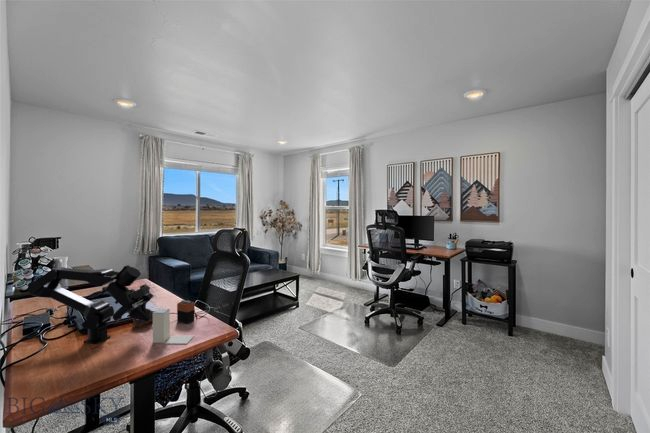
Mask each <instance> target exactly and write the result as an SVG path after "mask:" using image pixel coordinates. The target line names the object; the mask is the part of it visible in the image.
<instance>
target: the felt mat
mask: <svg viewBox="0 0 650 433" xmlns="http://www.w3.org/2000/svg"><path fill="white" fill-rule="evenodd" d="M193 338H195V335H191V334H187V335H185V334H183V335H180V334H178V335H177V334H175V335H174V334H173V335H172V336H170V338H169V339H168V340H166V341H165V342H164V344H163V345H188V344H189V342H191V340H192V339H193Z"/></svg>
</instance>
